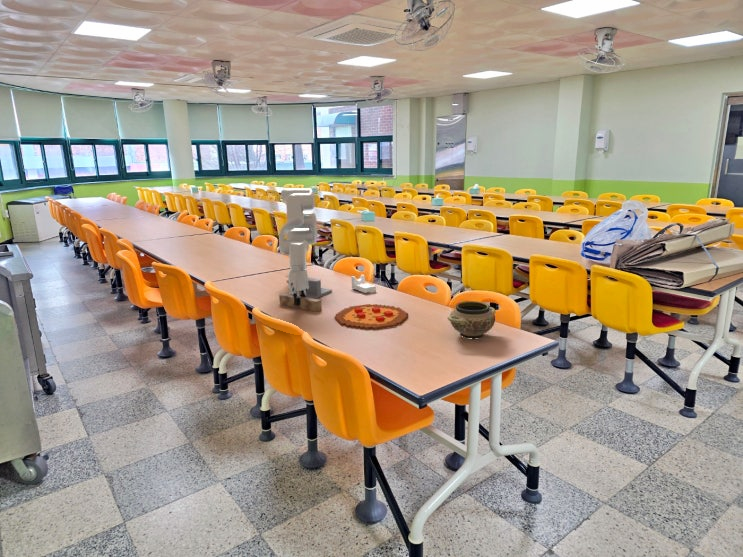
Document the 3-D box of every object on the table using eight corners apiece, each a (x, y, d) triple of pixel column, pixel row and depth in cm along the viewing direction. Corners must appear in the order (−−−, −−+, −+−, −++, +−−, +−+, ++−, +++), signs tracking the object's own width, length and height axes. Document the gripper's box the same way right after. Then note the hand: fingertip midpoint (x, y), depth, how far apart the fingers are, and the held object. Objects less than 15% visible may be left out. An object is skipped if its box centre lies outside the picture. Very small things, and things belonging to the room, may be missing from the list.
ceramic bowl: (482, 331, 209) (477, 297, 208) (513, 333, 193) (507, 296, 193) (437, 343, 196) (432, 307, 196) (467, 346, 181) (461, 307, 181)
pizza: (389, 304, 241) (389, 298, 241) (418, 324, 213) (418, 317, 212) (328, 312, 230) (327, 306, 230) (349, 334, 201) (349, 327, 201)
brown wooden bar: (279, 304, 243) (279, 294, 242) (284, 302, 246) (284, 293, 245) (316, 311, 230) (316, 301, 229) (321, 309, 233) (321, 300, 232)
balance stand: (285, 298, 252) (284, 281, 250) (311, 289, 270) (311, 272, 268) (306, 302, 245) (305, 284, 243) (332, 292, 263) (331, 275, 261)
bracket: (351, 289, 269) (351, 276, 267) (362, 287, 273) (362, 274, 271) (365, 294, 259) (364, 281, 257) (375, 292, 263) (375, 278, 261)
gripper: (303, 263, 242) (305, 298, 247) (280, 270, 228) (283, 307, 233) (315, 265, 238) (316, 300, 243) (292, 272, 225) (294, 309, 229)
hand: (300, 303), depth 238 cm, fingers closed on brown wooden bar, 3 cm apart
